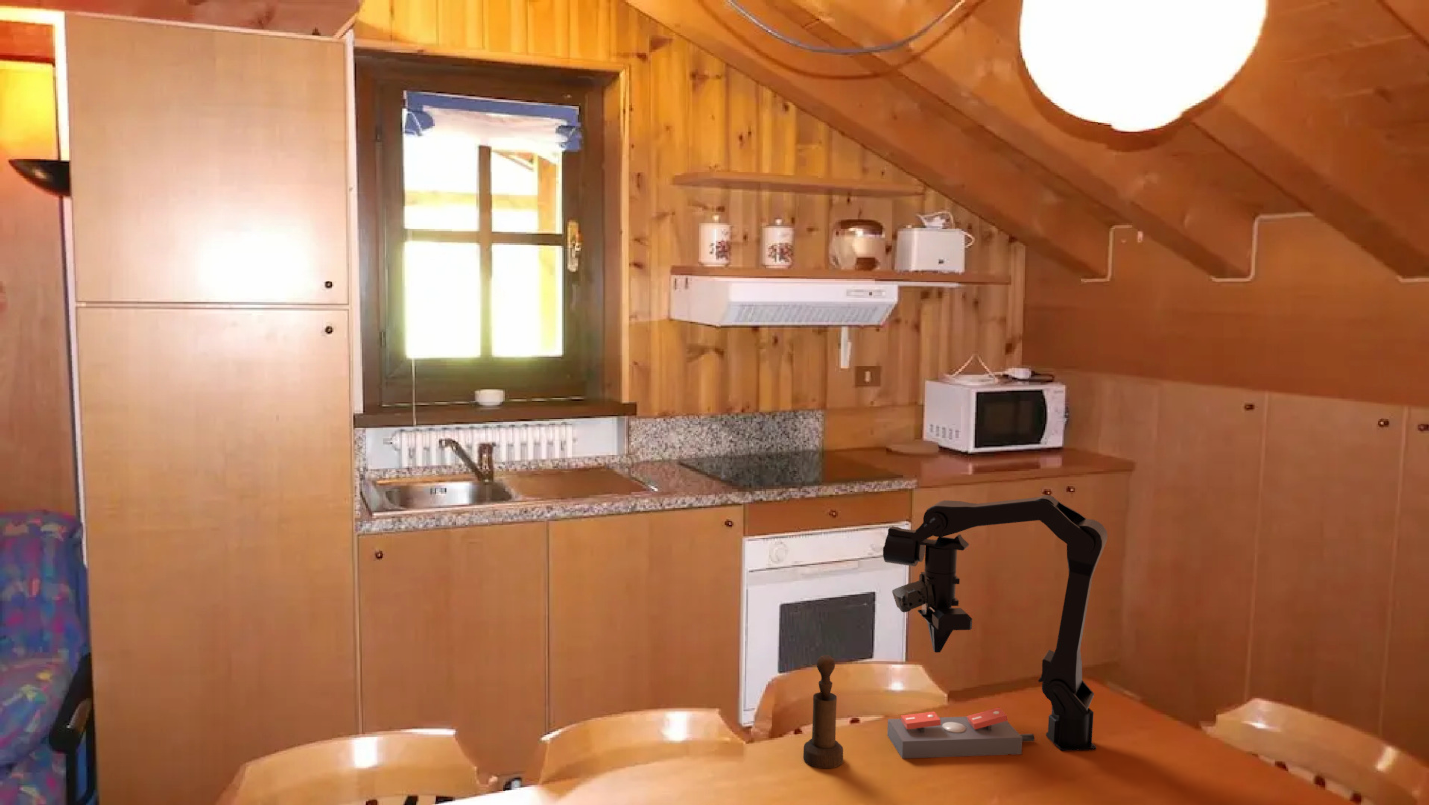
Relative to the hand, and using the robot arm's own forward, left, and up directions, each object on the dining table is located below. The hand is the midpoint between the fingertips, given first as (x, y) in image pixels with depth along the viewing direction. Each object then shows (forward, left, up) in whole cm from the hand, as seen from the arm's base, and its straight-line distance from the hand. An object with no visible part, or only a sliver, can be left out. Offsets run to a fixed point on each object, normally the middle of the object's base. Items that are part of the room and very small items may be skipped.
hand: (936, 651), depth 189 cm
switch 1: (+7, +13, -8) cm, 17 cm away
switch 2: (-5, +13, -8) cm, 16 cm away
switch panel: (-1, +13, -12) cm, 18 cm away
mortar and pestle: (+25, +17, -12) cm, 33 cm away
